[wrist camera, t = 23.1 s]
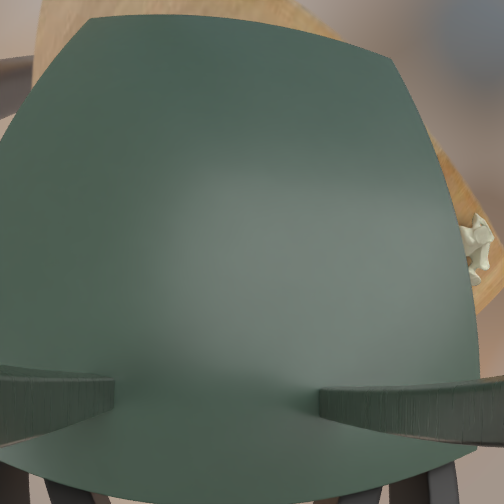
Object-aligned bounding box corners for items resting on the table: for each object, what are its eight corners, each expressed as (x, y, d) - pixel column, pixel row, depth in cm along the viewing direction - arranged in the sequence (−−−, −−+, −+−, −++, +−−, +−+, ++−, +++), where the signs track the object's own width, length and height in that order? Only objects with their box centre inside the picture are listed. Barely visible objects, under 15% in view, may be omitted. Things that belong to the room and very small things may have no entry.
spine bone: (421, 217, 35) (434, 243, 31) (485, 200, 32) (502, 223, 28) (424, 279, 42) (433, 304, 38) (480, 263, 39) (491, 286, 35)
